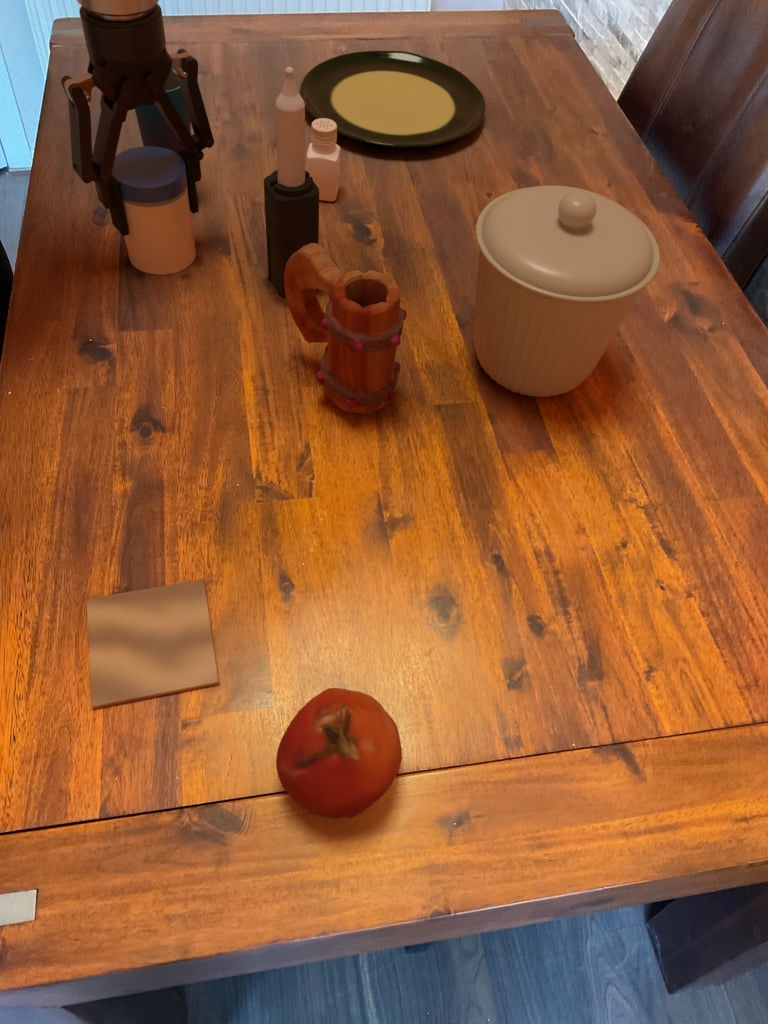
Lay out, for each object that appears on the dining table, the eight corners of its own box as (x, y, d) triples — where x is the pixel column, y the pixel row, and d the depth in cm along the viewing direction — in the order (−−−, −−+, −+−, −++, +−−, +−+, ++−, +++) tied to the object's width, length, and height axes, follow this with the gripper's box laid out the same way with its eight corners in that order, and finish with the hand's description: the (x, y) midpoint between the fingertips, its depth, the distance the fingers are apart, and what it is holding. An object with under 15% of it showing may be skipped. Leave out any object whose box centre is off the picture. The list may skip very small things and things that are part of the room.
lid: (151, 153, 93) (148, 137, 91) (203, 180, 91) (201, 165, 89) (96, 183, 89) (92, 167, 87) (149, 212, 86) (147, 196, 85)
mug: (415, 399, 86) (433, 286, 74) (364, 439, 82) (374, 326, 70) (318, 332, 91) (320, 215, 79) (266, 366, 88) (259, 250, 75)
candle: (265, 274, 97) (254, 58, 76) (303, 264, 98) (303, 50, 78) (281, 299, 94) (274, 84, 74) (321, 289, 96) (325, 75, 76)
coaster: (87, 601, 69) (86, 598, 69) (204, 581, 71) (204, 578, 71) (92, 709, 64) (91, 706, 63) (219, 684, 66) (218, 681, 65)
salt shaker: (339, 187, 109) (342, 118, 101) (335, 203, 106) (338, 134, 99) (310, 183, 109) (310, 114, 101) (305, 200, 106) (305, 130, 99)
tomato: (400, 718, 65) (410, 677, 59) (393, 836, 60) (404, 805, 53) (286, 707, 65) (284, 665, 58) (270, 825, 60) (265, 792, 53)
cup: (192, 213, 103) (177, 96, 90) (140, 205, 103) (118, 86, 91) (207, 184, 107) (195, 68, 94) (157, 176, 107) (138, 59, 95)
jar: (114, 260, 96) (96, 178, 87) (155, 226, 100) (141, 146, 92) (170, 283, 94) (156, 202, 86) (209, 248, 99) (199, 168, 90)
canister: (428, 324, 94) (455, 154, 77) (564, 300, 98) (618, 134, 81) (489, 436, 84) (536, 270, 67) (637, 404, 89) (716, 241, 72)
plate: (309, 57, 129) (309, 40, 127) (480, 74, 130) (482, 58, 128) (290, 150, 113) (290, 133, 111) (486, 170, 114) (489, 153, 112)
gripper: (25, 44, 69) (84, 263, 88) (238, -1, 78) (251, 208, 96) (-7, 9, 72) (56, 227, 91) (200, -31, 81) (220, 177, 99)
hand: (156, 217), depth 93 cm, fingers closed on lid, 8 cm apart
